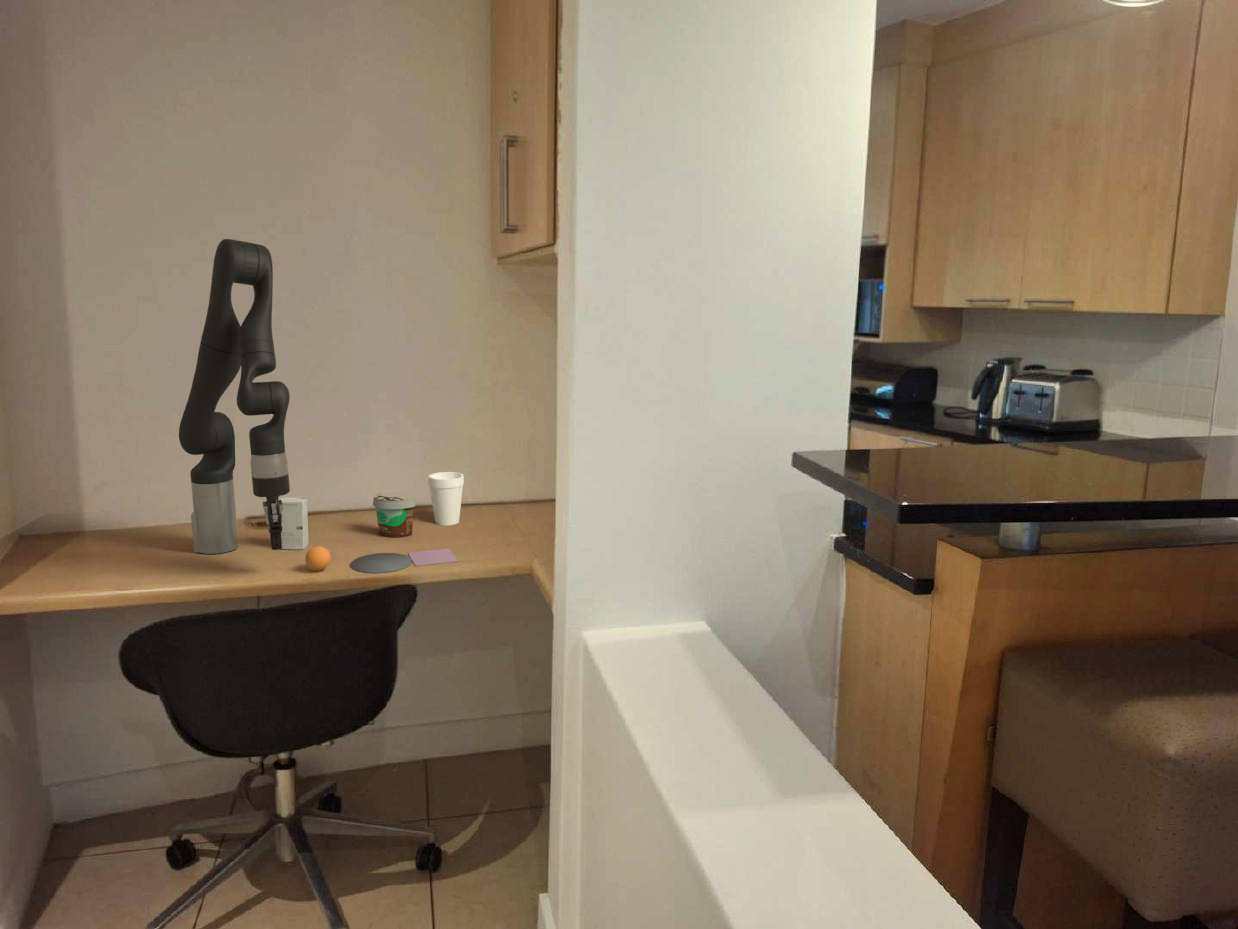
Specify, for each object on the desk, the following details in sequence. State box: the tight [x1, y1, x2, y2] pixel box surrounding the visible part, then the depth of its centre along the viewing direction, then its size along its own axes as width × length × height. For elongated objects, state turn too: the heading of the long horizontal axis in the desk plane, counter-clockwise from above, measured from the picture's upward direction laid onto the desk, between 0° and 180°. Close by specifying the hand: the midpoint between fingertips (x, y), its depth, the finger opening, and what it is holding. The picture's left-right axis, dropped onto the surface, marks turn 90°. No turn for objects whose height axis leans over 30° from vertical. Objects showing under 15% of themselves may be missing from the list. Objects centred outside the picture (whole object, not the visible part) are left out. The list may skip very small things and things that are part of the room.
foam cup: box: [427, 471, 465, 526], centre depth 240 cm, size 10×9×13 cm
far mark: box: [407, 548, 459, 567], centre depth 212 cm, size 10×10×1 cm
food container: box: [372, 492, 416, 539], centre depth 228 cm, size 12×6×10 cm, turn 62°
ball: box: [304, 545, 332, 572], centre depth 202 cm, size 6×6×6 cm
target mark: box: [349, 552, 413, 574], centre depth 208 cm, size 14×14×1 cm
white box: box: [279, 496, 309, 550], centre depth 217 cm, size 6×4×12 cm
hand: (276, 548), depth 198 cm, fingers closed
